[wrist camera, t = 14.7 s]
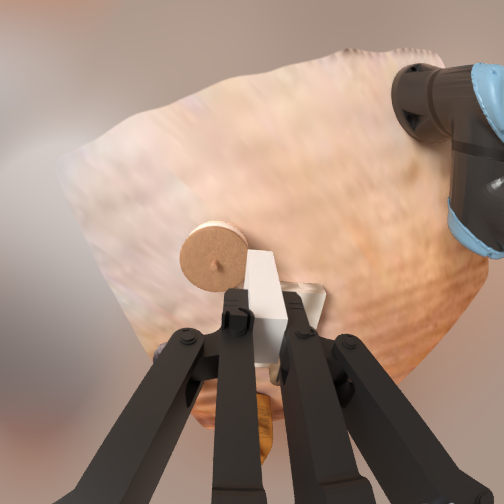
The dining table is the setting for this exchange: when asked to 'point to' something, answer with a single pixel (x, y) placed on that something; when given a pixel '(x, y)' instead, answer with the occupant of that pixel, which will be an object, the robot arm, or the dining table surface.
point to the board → (304, 301)
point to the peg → (274, 373)
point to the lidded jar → (215, 256)
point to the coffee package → (264, 425)
